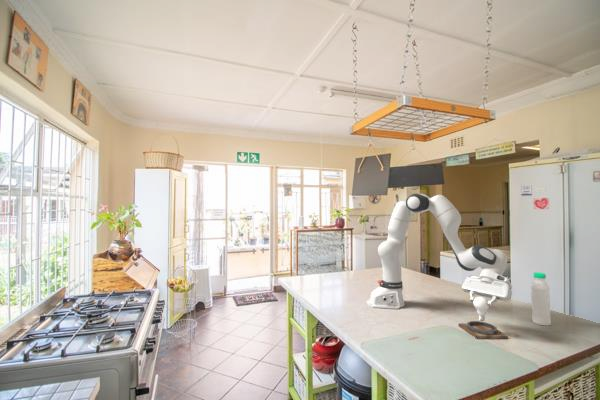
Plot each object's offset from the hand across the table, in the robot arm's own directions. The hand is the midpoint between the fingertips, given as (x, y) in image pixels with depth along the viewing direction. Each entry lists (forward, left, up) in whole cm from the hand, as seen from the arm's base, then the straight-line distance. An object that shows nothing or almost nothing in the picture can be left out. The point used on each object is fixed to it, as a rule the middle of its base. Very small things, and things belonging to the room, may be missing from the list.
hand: (480, 303), depth 131 cm
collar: (0, 0, -12) cm, 12 cm away
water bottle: (+36, +10, -14) cm, 40 cm away
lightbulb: (0, 0, -8) cm, 8 cm away
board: (0, 0, -13) cm, 13 cm away
